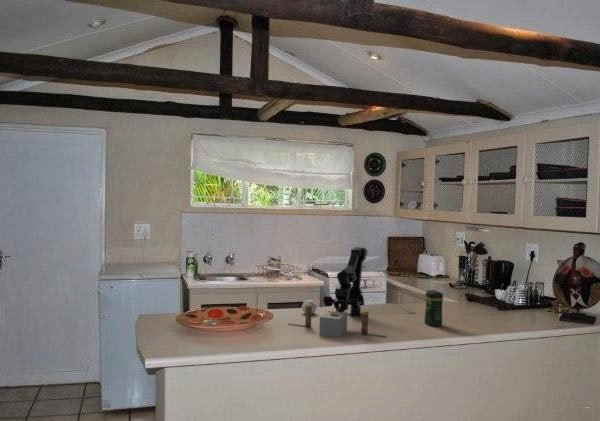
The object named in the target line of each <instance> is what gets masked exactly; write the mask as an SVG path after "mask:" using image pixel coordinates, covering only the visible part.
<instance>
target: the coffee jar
mask: <svg viewBox="0 0 600 421" xmlns="http://www.w3.org/2000/svg"><path fill="white" fill-rule="evenodd" d="M443 301H444V294H443V293H442V292H440V291H437V290H434V289H428V290H426V291H425V309H424V310H425V311H424V324H427V325H428V326H433V327H440V326H442V325H443Z"/></svg>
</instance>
